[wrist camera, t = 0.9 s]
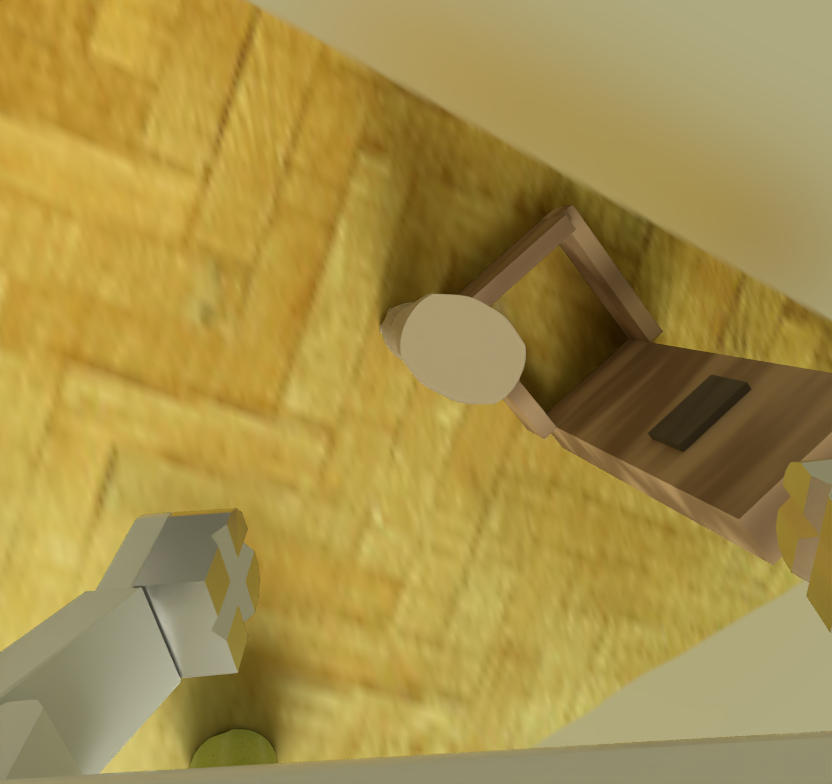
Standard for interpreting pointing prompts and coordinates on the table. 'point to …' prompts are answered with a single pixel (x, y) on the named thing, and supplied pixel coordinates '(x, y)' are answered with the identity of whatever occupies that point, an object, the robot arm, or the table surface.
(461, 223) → the table surface
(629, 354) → the wooden frame stand
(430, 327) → the handle
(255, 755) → the plant pot
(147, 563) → the robot arm
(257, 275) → the table surface
